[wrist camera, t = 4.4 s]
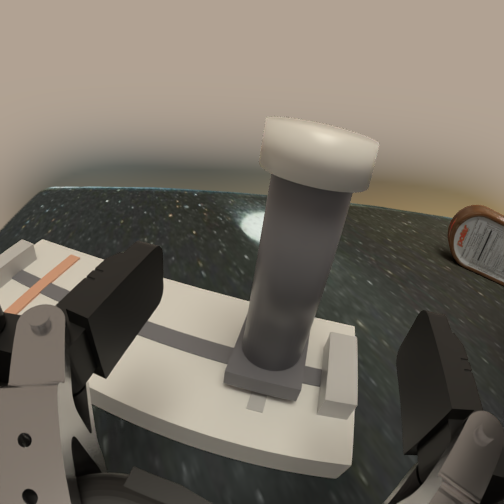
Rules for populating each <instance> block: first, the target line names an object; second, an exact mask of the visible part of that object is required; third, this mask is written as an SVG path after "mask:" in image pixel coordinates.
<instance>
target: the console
mask: <svg viewBox="0 0 504 504" xmlns="http://www.w3.org/2000/svg"><path fill="white" fill-rule="evenodd" d="M103 261H104V260H103V259H100V258H97V257H94V256H91V255H88V254H85V253H82V252H78V251H75V250H72V249H69V248H66V247H64V246H61V245H58V244H55V243H52V242H49V241H46V240H43V239H42V240H41V241H39V242H38V243H36V244H35V245H34V244H32V243H30V242H27V241H25V240H21V241H19V242H18V243H16V244H15V245H13V246H12V247H10V248H9V249H8V250H6V251H5V252H3V253H2V254H1V255H0V306H1V308H2V311H3V312H5V313H11V314H17V315H22V314H23V313H24V312H25V311H27V310H28V309H30V308H32V307H34V306H37V305H42V304H49V305H54V306H55V305H56V304H57V303H58V302H60V301H61V300H62V299H63V298H64V297H65V296H66V295H67V294H68V293H69V292H70V291H71V290H72V289H73V288H74V287H75V286H76V285H77V284H78V283H79V282H81V281H82V280H83V279H84V278H87V275H88V274H89V273H90V272H91V271H93V270H95V268H96V267H97V266H98V265H99V264H100V263H101V262H103ZM163 285H164V289H163V295H162V299H161V301H160V304H159V305H158V307H157V308H156V310H155V311H154V312H153V314H152V315H151V317H150V318H149V319H148V321H147V322H146V323H145V325H144V326H143V328H142V329H141V330H140V332H139V333H138V335H137V336H136V337H135V339H134V340H133V342H132V343H131V344H130V346H129V347H128V349H127V350H126V351H125V353H124V354H123V356H122V357H121V359H120V360H119V361H118V363H117V364H116V366H115V367H114V369H113V370H112V371H111V373H110V374H109V376H108V377H107V379H105V378H103V377H100V376H98V375H96V374H94V373H93V374H92V376H91V377H90V378H89V380H88V382H89V387H90V396H91V404H93V405H95V406H97V407H99V408H101V409H103V410H105V411H107V412H109V413H111V414H113V415H115V416H117V417H120V418H122V419H124V420H126V421H128V422H131V423H133V424H135V425H137V426H140V427H142V428H145V429H147V430H149V431H152V432H154V433H157V434H159V435H162V436H164V437H167V438H170V439H172V440H175V441H178V442H181V443H184V444H186V445H189V446H192V447H195V448H198V449H201V450H205V451H208V452H211V453H214V454H218V455H221V456H224V457H228V458H232V459H235V460H239V461H243V462H247V463H251V464H255V465H259V466H264V467H268V468H273V469H278V470H283V471H288V472H293V473H299V474H305V475H311V476H318V477H326V478H334V479H337V478H338V477H339V476H340V475H341V474H342V473H343V472H345V471H346V470H347V469H348V468H349V467H350V466H351V464H352V451H353V435H354V412H355V408H356V406H357V395H358V360H357V337H355V326H350V325H345V324H341V323H336V322H332V321H328V320H323V319H319V318H314V321H313V324H312V326H311V329H310V335H309V343H308V350H307V356H306V363H305V370H304V376H303V382H302V388H301V392H300V394H299V396H298V398H297V400H296V401H292V400H287V399H283V398H278V397H274V396H270V395H266V394H262V393H258V392H254V391H250V390H247V389H243V388H239V387H236V386H232V385H229V384H225V383H223V381H224V373H225V369H226V367H227V364H228V362H229V359H230V357H231V354H232V352H233V349H234V346H235V344H236V341H237V339H238V336H239V334H240V331H241V329H242V326H243V323H244V321H245V318H246V316H247V313H248V308H249V301H245V300H242V299H238V298H234V297H230V296H226V295H223V294H219V293H215V292H212V291H208V290H204V289H201V288H197V287H193V286H190V285H186V284H183V283H179V282H176V281H172V280H169V279H165V278H163Z"/></svg>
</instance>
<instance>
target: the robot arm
mask: <svg viewBox="0 0 504 504" xmlns="http://www.w3.org/2000/svg"><path fill="white" fill-rule="evenodd" d="M163 289H164V285H163V252H162V248H161V247H160V246H156V245H152V244H149V243H145V242H141V241H137V242H135V243H134V244H133V245H132V246H131V247H129V248H128V249H127V250H126V251H125V252H124V253H121V252H119V253H117V254H115V255H113V256H111V257H108V258H106V259H105V260H104V261H103V262H101V263H100V264H99V265H98V266H97V267H96V268H95V270H93V271H91V272H90V273H89V274H88V275H87V278H84V279H83V280H82V281H81V282H79V283H78V284H77V285H76V286H75V287H74V288H73V289H72V290H71V291H70V292H69V293H68V294H67V295H66V296H65V297H64V298H63V299H62V300H61V301H60V302H58V303H57V304H56V305H55V306H54V305H49V304H42V305H37V306H34V307H32V308H30V309H28V310H27V311H25V312H24V313H23V314H22V315H17V314H11V313H5V312H3V311H2V308H1V306H0V504H212V503H211V502H209V501H207V500H205V499H204V498H202V497H200V496H198V495H197V494H195V493H193V492H192V491H190V490H188V489H187V488H185V487H183V486H182V485H179V484H177V483H174V482H171V481H168V480H166V479H163V478H161V477H158V476H156V475H153V474H151V473H148V472H146V471H143V470H141V469H139V468H136V467H134V466H133V468H132V470H131V472H130V474H129V475H128V474H121V473H108V472H107V468H106V464H105V460H104V457H103V454H102V452H101V449H100V447H99V444H98V440H97V436H96V430H95V424H94V418H93V411H92V404H91V396H90V387H89V382H88V380H89V378H90V377H91V376H92V374H93V373H94V374H96V375H98V376H100V377H103V378H105V379H107V377H108V376H109V374H110V373H111V371H112V370H113V369H114V367H115V366H116V364H117V363H118V361H119V360H120V359H121V357H122V356H123V354H124V353H125V351H126V350H127V349H128V347H129V346H130V344H131V343H132V342H133V340H134V339H135V337H136V336H137V335H138V333H139V332H140V330H141V329H142V328H143V326H144V325H145V323H146V322H147V321H148V319H149V318H150V317H151V315H152V314H153V312H154V311H155V310H156V308H157V307H158V305H159V304H160V301H161V299H162V295H163ZM396 366H397V374H398V383H399V393H400V403H401V416H402V430H403V451H404V455H418V462H417V463H416V464H414V465H413V467H412V468H411V469H410V470H409V472H408V473H407V474H406V476H405V477H404V478H403V480H402V481H401V482H400V484H399V485H398V486H397V487H396V489H395V490H394V491H393V492H392V494H391V495H390V496H389V497H388V498H387V500H386V501H385V502H384V503H383V504H504V503H503V499H504V430H503V427H502V425H501V423H500V422H499V420H498V419H497V418H496V417H495V416H494V415H492V414H490V413H488V412H486V411H483V408H482V404H481V400H480V397H479V393H478V390H477V386H476V383H475V379H474V376H473V373H471V370H472V369H471V366H470V363H469V362H468V357H467V354H466V351H465V348H464V346H463V344H462V343H461V341H460V340H459V339H458V337H457V336H456V335H455V333H452V331H451V328H450V325H449V323H448V320H447V317H446V316H445V315H443V314H439V313H434V312H430V311H425V310H423V311H421V312H420V313H419V315H418V316H417V318H416V320H415V322H414V324H413V325H412V327H411V329H410V331H409V332H408V334H407V336H406V338H405V339H404V341H403V343H402V344H401V346H400V348H399V351H398V355H397V361H396Z"/></svg>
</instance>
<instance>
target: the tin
mask: <svg viewBox="0 0 504 504" xmlns="http://www.w3.org/2000/svg"><path fill="white" fill-rule="evenodd" d="M448 242H449V246H450V250H451V253H452V255H453V257H454V259H455V260H456V261H457V263H458V264H460V265H461V266H462V267H464V268H466V269H468V270H470V271H473V272H475V273H477V274H479V275H481V276H484V277H486V278H488V279H490V280H492V281H494V282H496V283H498V284H500V285H502V286H504V216H503V215H501V214H499V213H498V212H496V211H494V210H492V209H490V208H488V207H486V206H482V205H471V206H467V207H465V208H463V209H462V210H460V211H459V212H458V213H457V214H456V215H455V216H454V217H453V219H452V220H451V223H450V225H449V228H448Z"/></svg>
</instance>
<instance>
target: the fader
mask: <svg viewBox="0 0 504 504" xmlns="http://www.w3.org/2000/svg"><path fill="white" fill-rule="evenodd" d="M378 148H379V142H377V141H376V140H374V139H372V138H370V137H367V136H364V135H362V134H359V133H356V132H353V131H350V130H347V129H344V128H340V127H336V126H332V125H328V124H324V123H319V122H314V121H309V120H303V119H296V118H289V117H266V120H265V127H264V133H263V140H262V146H261V152H260V159H259V164H260V166H261V167H262V168H263V169H264V170H266V171H268V172H269V173H271V179H270V186H269V191H268V197H267V203H266V209H265V215H264V221H263V227H262V233H261V239H260V244H259V250H258V256H257V262H256V268H255V274H254V279H253V285H252V291H251V297H250V302H249V308H248V313H247V316H246V318H245V321H244V323H243V326H242V329H241V331H240V334H239V336H238V339H237V341H236V344H235V346H234V349H233V352H232V354H231V357H230V359H229V362H228V364H227V367H226V369H225V373H224V381H223V383H225V384H229V385H232V386H236V387H239V388H243V389H247V390H250V391H254V392H258V393H262V394H266V395H270V396H274V397H278V398H283V399H287V400H292V401H296V400H297V398H298V396H299V394H300V392H301V388H302V382H303V376H304V370H305V363H306V356H307V350H308V343H309V335H310V329H311V326H312V324H313V321H314V318H315V315H316V312H317V309H318V306H319V303H320V300H321V297H322V294H323V291H324V288H325V285H326V282H327V279H328V276H329V273H330V269H331V266H332V263H333V260H334V257H335V253H336V250H337V247H338V243H339V240H340V236H341V233H342V230H343V226H344V223H345V219H346V215H347V212H348V208H349V205H350V201H351V197H352V193H353V192H362V191H365V190H367V189H368V187H369V184H370V180H371V176H372V172H373V169H374V165H375V161H376V157H377V152H378Z"/></svg>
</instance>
